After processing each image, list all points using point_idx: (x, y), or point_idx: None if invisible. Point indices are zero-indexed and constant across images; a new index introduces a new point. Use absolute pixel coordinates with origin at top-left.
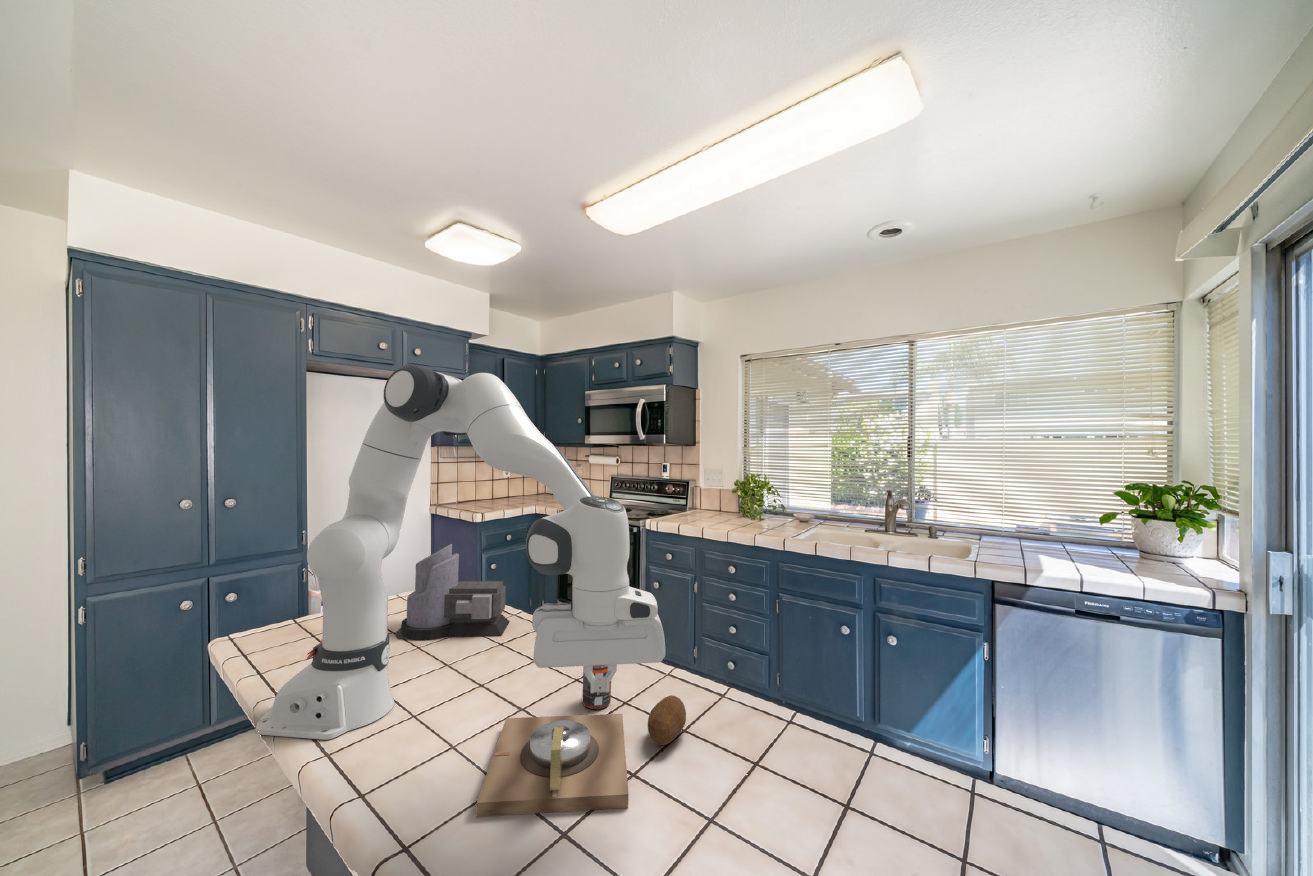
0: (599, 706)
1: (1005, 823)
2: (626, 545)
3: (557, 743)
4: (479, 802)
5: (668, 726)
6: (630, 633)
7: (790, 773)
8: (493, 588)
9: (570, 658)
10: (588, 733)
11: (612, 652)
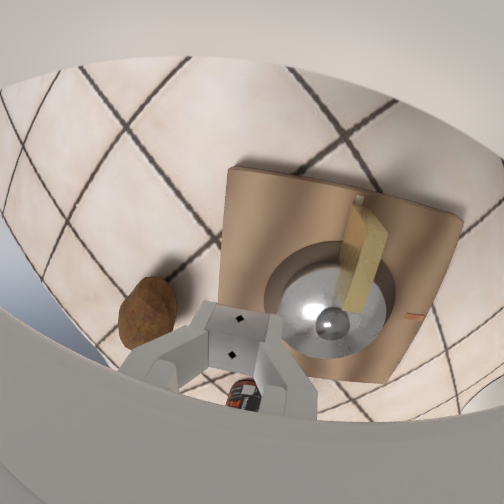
0: (248, 383)
1: None
2: None
3: (369, 253)
4: (461, 220)
5: (138, 291)
6: None
7: (44, 198)
8: None
9: (414, 463)
10: None
11: (85, 436)
